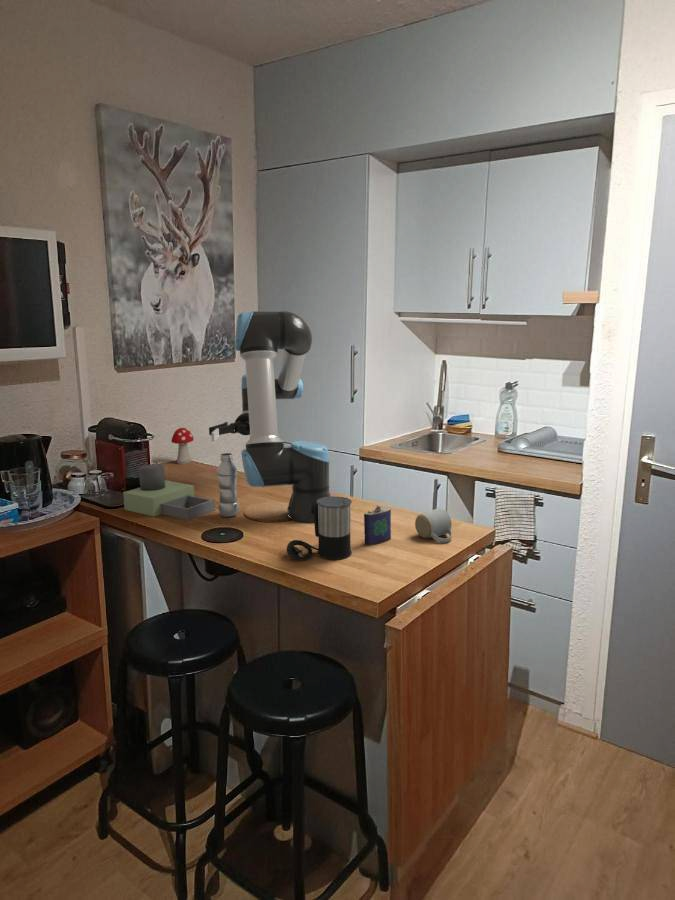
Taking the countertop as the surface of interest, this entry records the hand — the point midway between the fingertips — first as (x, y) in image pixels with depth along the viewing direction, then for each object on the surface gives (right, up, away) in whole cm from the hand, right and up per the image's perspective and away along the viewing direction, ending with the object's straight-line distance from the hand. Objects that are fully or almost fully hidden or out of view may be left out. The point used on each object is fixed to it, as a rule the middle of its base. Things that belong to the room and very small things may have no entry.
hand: (233, 437), depth 217 cm
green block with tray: (-21, -23, +4) cm, 31 cm away
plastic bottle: (-1, -25, -4) cm, 25 cm away
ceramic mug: (+62, -29, -25) cm, 73 cm away
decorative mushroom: (-32, -10, +70) cm, 77 cm away
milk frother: (+29, -32, -38) cm, 58 cm away
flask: (+45, -30, -28) cm, 61 cm away
